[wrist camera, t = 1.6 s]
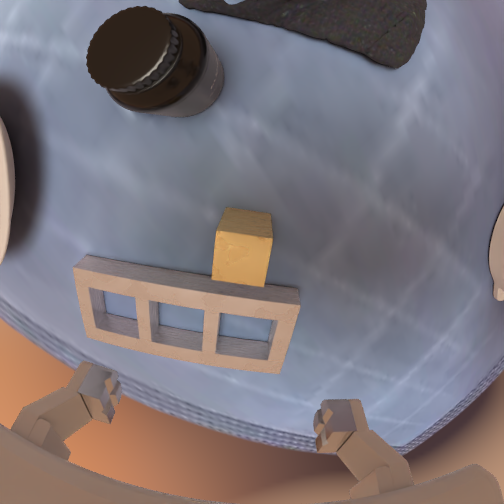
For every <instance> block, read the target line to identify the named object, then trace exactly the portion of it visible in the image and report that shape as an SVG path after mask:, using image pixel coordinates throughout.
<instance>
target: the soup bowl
mask: <svg viewBox="0 0 504 504" xmlns="http://www.w3.org/2000/svg"><path fill="white" fill-rule="evenodd" d="M14 196H15V168H14V159H13V153H12V147H11V143H10V139H9V136H8V133H7V130H6V127H5V125H4V123H3V121H2V119H1V117H0V265H1V263H2V261H3V259H4V257H5V254H6V250H7V246H8V242H9V235H10V225H11V217H12V212H13V206H14Z"/></svg>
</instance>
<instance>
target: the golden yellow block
mask: <svg viewBox="0 0 504 504" xmlns="http://www.w3.org/2000/svg"><path fill="white" fill-rule="evenodd" d="M272 242H273V232H272V222H271V214H269V213H263V212H256V211H250V210H243V209H236V208H229V207H226V209H225V211H224V213H223V216H222V218H221V221H220V223H219V225H218V228H217V230H216V239H215V248H214V258H213V268H212V279H211V280H217V281H224V282H231V283H237V284H244V285H251V286H258V287H264V283H265V278H266V273H267V268H268V263H269V258H270V253H271V247H272Z"/></svg>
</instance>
